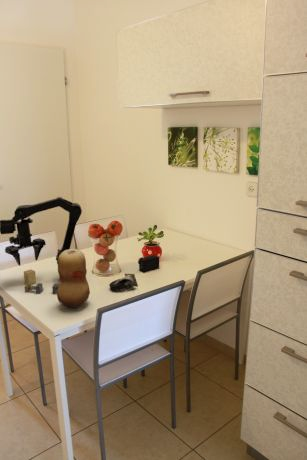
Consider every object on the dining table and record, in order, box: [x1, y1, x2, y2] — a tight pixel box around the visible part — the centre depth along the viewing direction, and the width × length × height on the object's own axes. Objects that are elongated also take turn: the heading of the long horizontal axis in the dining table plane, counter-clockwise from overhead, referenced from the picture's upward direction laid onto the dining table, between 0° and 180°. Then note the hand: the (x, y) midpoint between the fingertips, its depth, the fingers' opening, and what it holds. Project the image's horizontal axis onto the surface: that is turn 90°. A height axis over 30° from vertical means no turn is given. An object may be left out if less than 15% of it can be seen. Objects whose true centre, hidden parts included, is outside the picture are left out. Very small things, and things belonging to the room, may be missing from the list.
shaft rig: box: [23, 282, 60, 295], centre depth 182 cm, size 22×4×4 cm, turn 87°
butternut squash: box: [56, 248, 91, 308], centre depth 165 cm, size 14×13×25 cm
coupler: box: [23, 268, 37, 286], centre depth 192 cm, size 4×4×6 cm
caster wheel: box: [108, 273, 139, 292], centre depth 184 cm, size 7×11×10 cm
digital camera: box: [137, 254, 160, 274], centre depth 208 cm, size 10×5×7 cm, turn 126°
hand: (28, 262), depth 190 cm, fingers open, 9 cm apart
